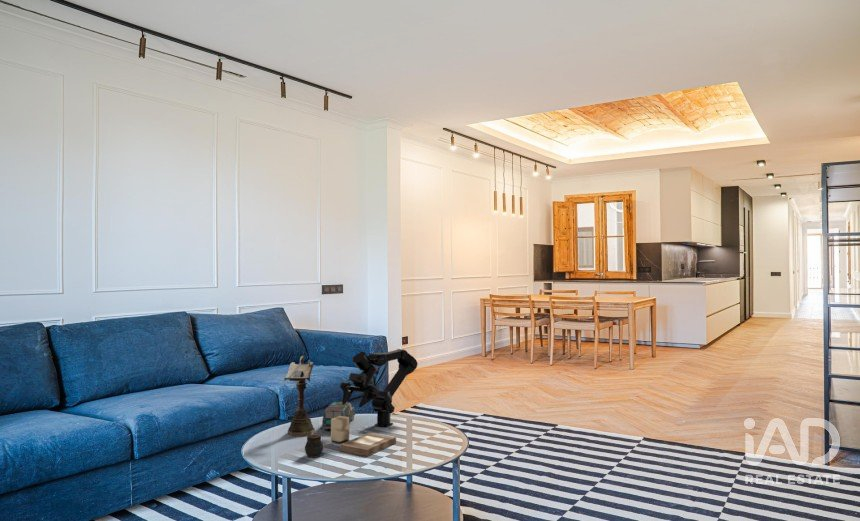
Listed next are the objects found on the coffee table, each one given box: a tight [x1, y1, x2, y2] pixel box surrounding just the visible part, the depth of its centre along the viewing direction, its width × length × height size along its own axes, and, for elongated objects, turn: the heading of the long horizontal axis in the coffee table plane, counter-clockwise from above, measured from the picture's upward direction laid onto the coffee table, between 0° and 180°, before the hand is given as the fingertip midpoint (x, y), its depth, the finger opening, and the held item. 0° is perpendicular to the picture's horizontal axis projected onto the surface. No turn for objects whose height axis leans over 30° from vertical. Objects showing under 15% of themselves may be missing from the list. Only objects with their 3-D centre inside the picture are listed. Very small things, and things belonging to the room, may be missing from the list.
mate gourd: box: [304, 430, 324, 458], centre depth 233 cm, size 7×8×10 cm
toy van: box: [321, 401, 356, 431], centre depth 279 cm, size 11×25×10 cm, turn 176°
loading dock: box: [339, 432, 397, 457], centre depth 244 cm, size 20×14×3 cm
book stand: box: [282, 355, 316, 437], centre depth 263 cm, size 17×13×35 cm
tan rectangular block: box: [330, 416, 350, 445], centre depth 251 cm, size 6×5×10 cm
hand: (351, 405), depth 258 cm, fingers open, 9 cm apart
